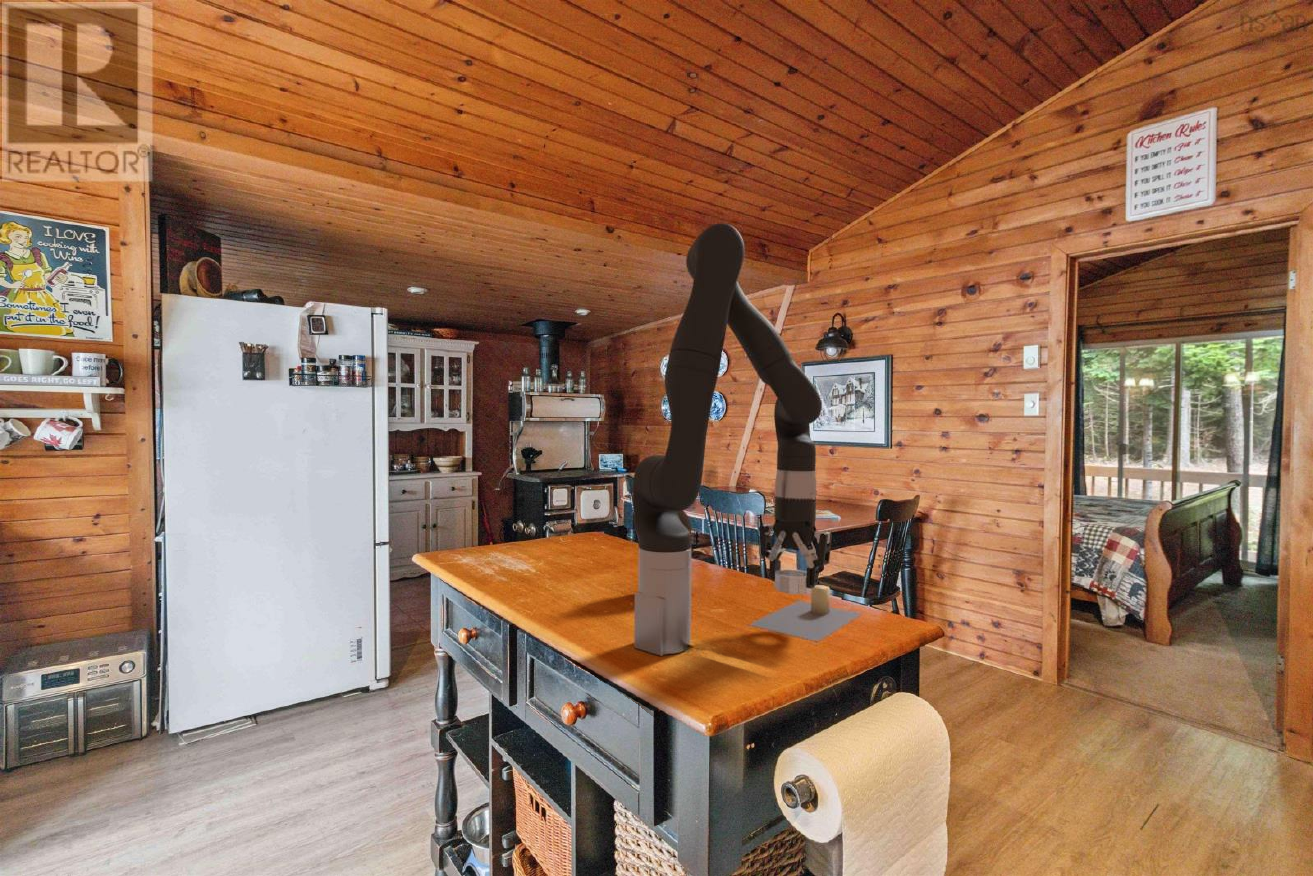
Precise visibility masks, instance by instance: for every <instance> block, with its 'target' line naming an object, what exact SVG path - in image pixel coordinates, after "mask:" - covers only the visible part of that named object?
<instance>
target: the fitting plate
mask: <svg viewBox="0 0 1313 876" xmlns="http://www.w3.org/2000/svg"><path fill="white" fill-rule="evenodd" d="M830 591H831V590H830V587H829V586H826V585H822V584H817V585H815V587H814V588H811V592H810V596H811V597H810V602H806V601H801V600H797V601H794V602H793V603H791V604H788V605H786V606H784V607H782V608H780V609H778V610H776V611H774V612H771V613H770V614H768V615H765V616H763V617H761V618H759V619H757V620H754V621H753V622H751V623H748V624H747V625H748V626H751V627H755V628H759V629H761V630H762V629H763V630H767V631H771V632H775V633H778V634H783V635H787V636H792V637H796V638H800V639H804V640H807V641H811V642H816V643H818V642H820V641H822V640H823V639H824V638H826V637H829V636H830V635H832V634H833V633H834V632H836V631H838V630H839V629H841V628H843V627H844V626H846V625H847V624H849V623H850V622H852V621H854V620H855V619H857V618H858V617H860V616H862V615H863V613H861V612H855V611H851V610H846V609H842V608H837V607H832V606H830V601H831V600H830V598H831V597H830Z"/></svg>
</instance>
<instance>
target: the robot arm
mask: <svg viewBox="0 0 1313 876" xmlns="http://www.w3.org/2000/svg"><path fill="white" fill-rule="evenodd" d="M740 233H741V232H739V231H738V230H737V228H736V227H734V226H733V225H732V224H729V223H725V222H720V223H715V224H712V225H710V226H708V227H706V228H705V229H704V230H702V231H701V232H700V233H699V235H698V236H697V237H696V238H695V241H694V242H693V243H692V244H691V246H690V247H689V249H688V251H687V255H686V258H685V262H686V263H685V264H686V268H687V271H688V274H689V275H690V277H691V278H692V280H693V283H692V287H691V291H690V295H689V299H688V301H687V304H686V306H685V309H684V312H683V314H682V316H681V319H680V321H679V323H678V326H677V329H676V331H675V334H674V337H673V340H672V343H671V346H670V349H669V355H668V359H667V364H666V368H665V374H664V389H665V395H666V399H667V400H666V401H667V404H668V408H669V414H670V422H671V423H670V433H669V438H668V441H667V443H668V444H667V447H666V452H665V454H663V455H661V454H657V455H656V454H654V455H648V456H646V457H645V458H644V459H642V460H641V461H640V462H639V463H638V465H637V466H636V468H635V471H634V475H633V479H632V506H633V507H632V508H633V509H632V510H633V525H634V530H635V533H636V535H637V540H638V586H637V587H638V592H635V593H634V633H633V634H634V642H633V643H634V648H635V649H638V650H641V651H644V652H648V653H650V654H654V655H658V656H661V657H662V656H665V655H669V654H679V653H682V652H684V651H687V650H688V649H690V647H691V635H692V634H691V630H692V628H691V627H692V623H691V622H692V621H691V619H692V618H691V617H692V612H691V611H692V532H691V533H690V531H689V530H688V529H687V528H686V527H685V526H684V525H683V524H682V522H681V521H680V519H679V517H678V513H677V511H682V510H683V511H685V510H687V509H689V508H690V507H691V506H692V505H693V504H694V503H695V501H696V500H697V498H698V495H699V494H700V490H701V486H702V481H703V474H704V473H703V472H704V462H705V451H706V442H707V441H706V440H707V436H708V435H707V434H708V428H709V427H708V426H709V422H710V416H711V410H712V405H713V398H714V393H715V390H716V386H717V382H718V377H719V373H720V367H721V362H722V357H723V349H724V343H725V340H726V334H727V333H726V332H727V329H728V328H727V326H728V327H729V328H730V330H731V332H732V333H733V334H734V337H736V340H737V341H738V343H739V344H740V346H741V348H742V349H743V351H744V352H745V354H746V357H747V358H748V360H749V362H750V364H751V365H752V367H753V368H754V370H755V372H756V374H757V376H758V377H759V379H760V380H761V382H763V383H764V384H765V385H767V386H768V387H770V389H771V391H772V392H773V393H774V395H775V397H776V400H775V404H774V411H773V413H774V414H773V417H774V426H775V427H774V428H775V435H776V442H777V452H776V474H775V481H774V511H773V512H774V514H773V517H774V523H773V524H770V523H766V524H761V525H759V528H758V532H759V551H760V552H759V553H760V556H761V557H765V558H766V559H767V560H768V561H769V578H771V581H772V582H775V571H778V570H782V561H781V560H780V559H781V558H782V555H783V554H784V552H786V550H791V549H792V550H794V551H797V552H798V551H799V552H800V555H801V556H802V557H803V559H804V560H805V563H806V565H807V567H806V572H807V577H806V587H807V588H810V589H811V588H814V587H815V585H818V582H819V568H820V567H824V566H825V565H828V564H829V563H830V559H831V558H830V557H831V547H832V539H833V534H832V532H830V531H824V532H823V531H820V530H817V528H816V517H817V516H816V515H817V513H816V511H817V495H818V491H817V477H816V476H817V474H816V464H817V463H816V462H817V461H816V460H817V457H816V456H817V453H816V452H817V451H816V444H815V441H813V440H812V439H811V429H810V428H811V427H810V425H811V424H812V423H814V422H815V421H816V420H817V419H819V416H820V415H821V413H822V409H823V407H822V406H823V405H822V400H821V399H822V398H821V397H820V394H819V392H818V390H817V388H816V387H815V386H814V383H812V381H811V380H810V378H809V377H808V376H807V375H806V374H805V372H804V371H803V370H802V369H801V367H799V365H798V364H797V363H796V362H795V361H794V358H793V356H792V354H791V353H790V351H789V349H788V346H787V345H786V343H785V342H784V339H783V338H782V337H781V334H780V333H779V332H778V330H777V329H776V327H774V326H775V325H773V324H772V323H771V321H770V320H768V318H767V317H766V316H765V315H764V314H762V313H761V312H760V311H759V309H757V308H756V307H755V306H754V305H753V304H752V302H751V300H749V298H747V296H746V294H745V293H744V291H743V289H742V288H741V285H740V284H739V282H738V278H739V276H740V273H741V270H742V266H743V264H744V260H745V255H746V253H745V250H746V249H745V242H744V240H743V237H742V234H740ZM773 535H775V538H776V541H775V543H774V544H773V542H772V541H773V538H772V537H773ZM814 539H816V542H817V544H818V549H817V550H816V548H815V546H814V543H813V541H814Z"/></svg>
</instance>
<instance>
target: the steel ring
mask: <svg viewBox="0 0 1313 876" xmlns="http://www.w3.org/2000/svg"><path fill="white" fill-rule="evenodd" d="M806 577H807V570H806V571H805V570H799V569H788V568H787V569H781V570H778V571H775V581H774V590H775V591H778V592H780V593H783V594H789V595H807V594H811V589H810V588H807V587H806Z"/></svg>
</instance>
